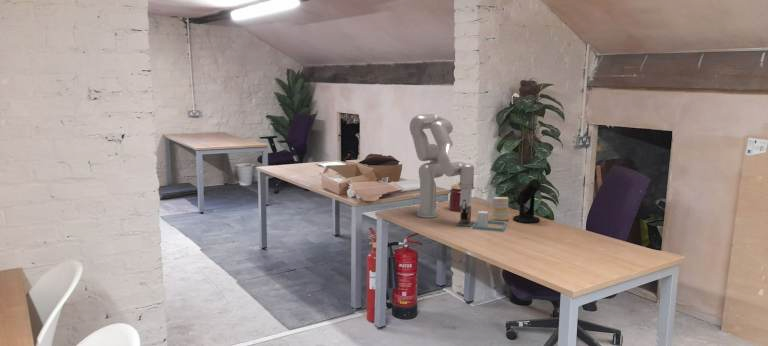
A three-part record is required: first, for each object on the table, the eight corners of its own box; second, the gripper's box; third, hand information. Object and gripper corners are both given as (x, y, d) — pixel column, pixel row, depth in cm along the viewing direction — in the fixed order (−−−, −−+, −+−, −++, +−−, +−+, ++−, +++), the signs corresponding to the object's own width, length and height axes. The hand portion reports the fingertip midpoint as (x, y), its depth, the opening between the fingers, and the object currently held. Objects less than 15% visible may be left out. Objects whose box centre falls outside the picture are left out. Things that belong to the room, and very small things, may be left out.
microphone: (525, 225, 310) (528, 181, 305) (506, 218, 325) (508, 176, 321) (546, 222, 316) (549, 179, 311) (527, 215, 331) (529, 174, 327)
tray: (472, 228, 302) (472, 225, 302) (476, 222, 316) (476, 219, 316) (503, 231, 297) (503, 228, 297) (506, 224, 311) (506, 222, 310)
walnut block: (460, 221, 309) (460, 207, 307) (461, 219, 314) (462, 205, 312) (469, 222, 307) (469, 208, 306) (470, 220, 312) (471, 206, 311)
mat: (456, 225, 307) (456, 224, 307) (460, 221, 317) (460, 220, 317) (470, 227, 305) (470, 225, 305) (474, 222, 314) (474, 221, 314)
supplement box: (506, 218, 324) (507, 196, 322) (507, 220, 319) (508, 198, 317) (492, 218, 325) (493, 196, 323) (493, 220, 320) (494, 198, 318)
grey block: (477, 226, 306) (477, 212, 305) (478, 224, 311) (479, 210, 310) (486, 227, 305) (486, 213, 303) (487, 225, 309) (488, 211, 308)
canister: (472, 208, 349) (473, 180, 346) (466, 212, 337) (467, 184, 334) (452, 206, 354) (453, 179, 351) (446, 210, 343) (447, 182, 340)
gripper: (462, 182, 316) (461, 213, 319) (456, 188, 300) (455, 221, 303) (476, 183, 314) (474, 215, 317) (470, 189, 298) (469, 222, 301)
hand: (465, 217), depth 310 cm, fingers closed on walnut block, 5 cm apart
